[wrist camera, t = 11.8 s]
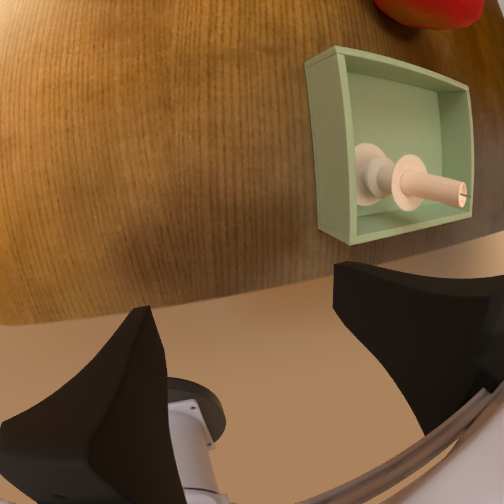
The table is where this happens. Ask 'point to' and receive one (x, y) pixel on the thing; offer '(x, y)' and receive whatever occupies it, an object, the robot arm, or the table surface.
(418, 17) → the apple
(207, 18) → the table surface
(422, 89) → the open box
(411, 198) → the candle
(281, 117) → the table surface
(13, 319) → the table surface
